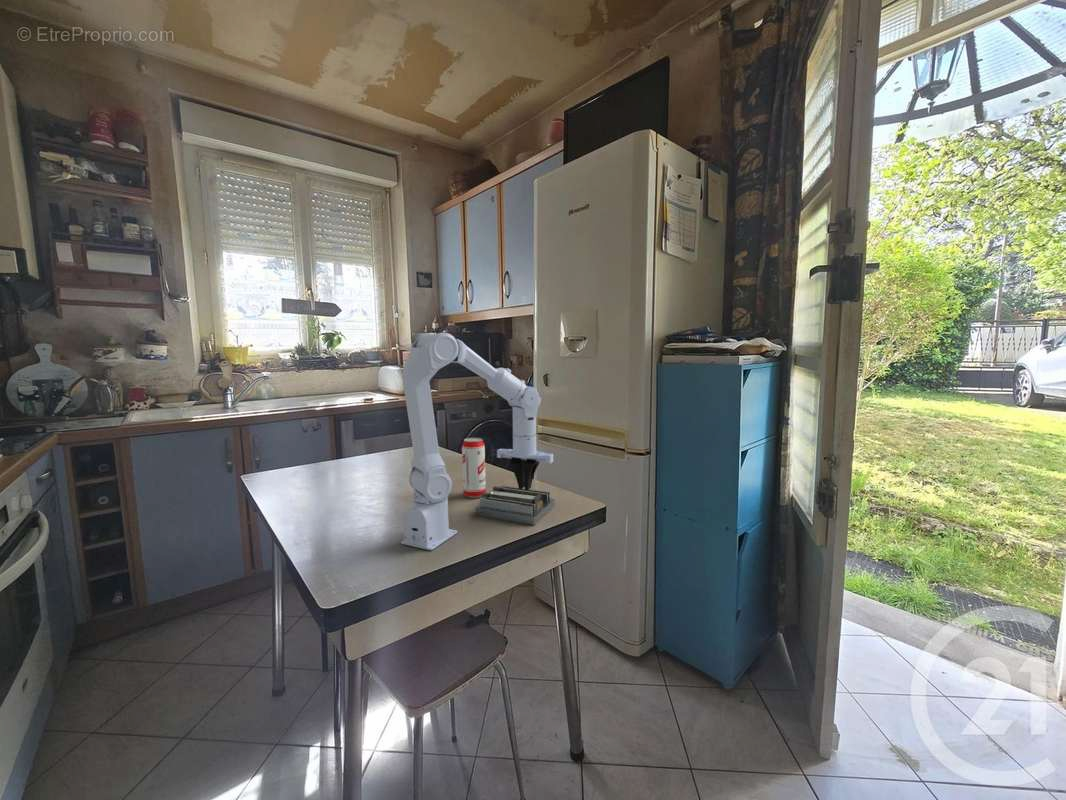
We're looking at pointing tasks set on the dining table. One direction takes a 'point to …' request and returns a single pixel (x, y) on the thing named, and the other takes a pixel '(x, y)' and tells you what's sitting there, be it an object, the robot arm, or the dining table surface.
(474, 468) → the beer can
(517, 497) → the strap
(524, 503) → the heatsink block
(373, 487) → the dining table surface
